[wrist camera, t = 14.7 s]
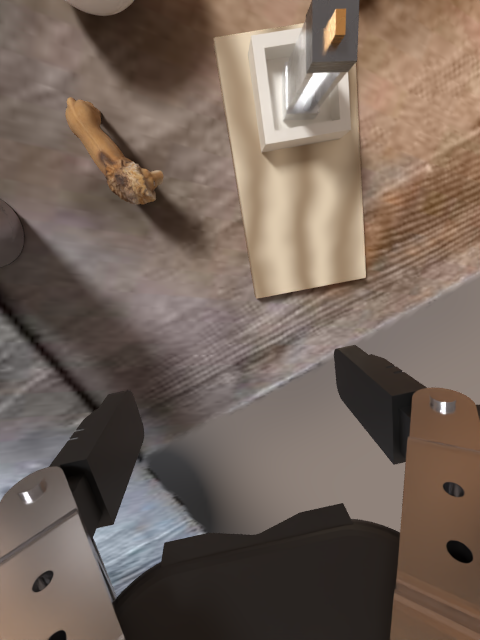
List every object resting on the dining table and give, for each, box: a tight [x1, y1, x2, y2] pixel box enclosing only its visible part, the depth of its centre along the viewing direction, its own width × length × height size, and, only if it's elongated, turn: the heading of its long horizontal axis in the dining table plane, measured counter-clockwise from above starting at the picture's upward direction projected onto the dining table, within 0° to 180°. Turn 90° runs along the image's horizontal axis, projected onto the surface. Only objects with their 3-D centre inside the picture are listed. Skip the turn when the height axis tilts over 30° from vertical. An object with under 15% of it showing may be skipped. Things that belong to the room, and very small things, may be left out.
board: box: [214, 23, 366, 299], centre depth 36 cm, size 16×30×2 cm, turn 10°
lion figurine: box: [66, 97, 163, 205], centre depth 30 cm, size 15×5×9 cm, turn 44°
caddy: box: [248, 28, 351, 153], centre depth 32 cm, size 10×10×3 cm
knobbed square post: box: [282, 0, 359, 121], centre depth 27 cm, size 4×5×11 cm
